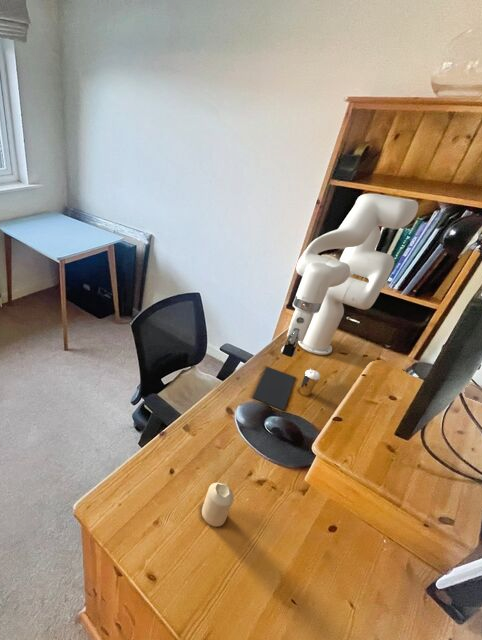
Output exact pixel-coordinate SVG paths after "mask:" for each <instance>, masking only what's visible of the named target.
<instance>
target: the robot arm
mask: <svg viewBox="0 0 482 640" xmlns="http://www.w3.org/2000/svg"><path fill="white" fill-rule="evenodd" d="M418 210H419V203H418V201H417V200H415V199H410V198H406V197H405V198H404V197H398V196H392V195H387V194H380V193H363V194H361V195H360V196H358V197H357V199H356V200H355V203H354V205H353V207H352V208H351V210H350V211H349V212H348V214H347V215H346V217H345V218H344V220H343V221H342V223H341V224H340V225H339V226H338V228H337V229H334V230H331V231H328V232H326V233H324V234H322V235H320V236H318V237H317V238H315V239H313V240H312V241H311V242H310V243H309V244H308V246H307V247H306V249H305V250H304V251H303V253H301V256H300V257H299V259H298V261H297V263H296V266H295V271H296V273H297V274H298V275H299V276H300V277H301V279H300V283H299V285H298V288H297V291H296V293H295V296H294V299H293V302H292V307H293V308H294V311H293V314H292V316H291V317H292V318H291V320H290V323H289V326H288V330H287V334H286V337H287V339H286V342H285V344H284V345H283V346H284V349H283V352H281V354H282V355H283V356H285V355H286V357H288V358H289V357H290V358H292V357H294V356H293V354H294V351H295V350H296V349H297V345H299V347H300V348H302V349H303V350H305V351H306V352H307V353H311V354H314V355H320V356H326V355H329V354H331V353H332V351H333V347H332V345H331V343H332V341H333V338H334V336H335V334H336V332H337V330H338V327H339V326H340V323H341V320H342V318H343V317H344V313H345V308H344V305H347V306H350V307H353V308H356V309H360V310H368V309H370V308H372V306H373V305H374V304H375V303H376V300H377V299H378V297H379V295H380V293H381V291H382V290H383V287H384V286H385V284H386V282H387V280H388V279H389V276H390V275H391V272H392V271H393V268H394V266H395V258H394V256H393V255H391V254H389V253H386V252H382V251H378V250H376V248H377V246H378V244H379V242H380V240H381V237H382V233H381V229H380V227H383V228H388V229H393V230H400V229H402V228H405V227H406V226H408V225H409V224H410V223H411V222H412V221H414V219H415V217H416V215H417V214H418ZM335 249H336V250H337V249H344V250H343V251H342V254H341V256H340V258H339V260H338V259H334V258H331V257H327V256H323V255H320V253H322V252H324V251H325V252H326V251H328V250H335ZM351 274H352V275H355V276H358V277H363V278H366V279H368V282H367V281H364V280H362V279H357V278H355V277H351V276H350V275H351ZM291 335H292V336H291ZM296 337H298V338H296ZM290 339H291V340H290ZM295 340H296V342H295Z"/></svg>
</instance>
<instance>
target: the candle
mask: <svg viewBox="0 0 482 640" xmlns="http://www.w3.org/2000/svg"><path fill="white" fill-rule="evenodd" d="M234 496H235V495H234V493H233V491H232V489H231V488H230V487H229V486H228V485H227V484H224V483H223V482H213V483H211V484H210V485H209V487H208V489H207V492H206V496H205V499H204V501H203V505H202V507H201V516H202V518H203V520H204V521H205V522H206V523H207V524H209V526H211V527H216V528H217V527H221V526H223V525H224V524H225V522H226V521H227V517H228V515H229V513H230V509H231V507H232V505H233V502H234V498H235V497H234Z"/></svg>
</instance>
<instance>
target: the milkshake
mask: <svg viewBox="0 0 482 640" xmlns="http://www.w3.org/2000/svg"><path fill="white" fill-rule="evenodd" d="M312 367H313V364H311V363H310V365H309V369H307V370H305V372H304V375H303V379H302V383H301V386H300V388H299V393H300V394H301V395H302V396H305V397H306V396H307V397H308V396H310V395H311V393H312V392H313V390H314V388H315V387H316V385H317V384H318V382H319V380H320V379H321V377H322V375H321V373H320V372H319V371H317V370H316V369H315V370H314V369H312Z"/></svg>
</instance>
